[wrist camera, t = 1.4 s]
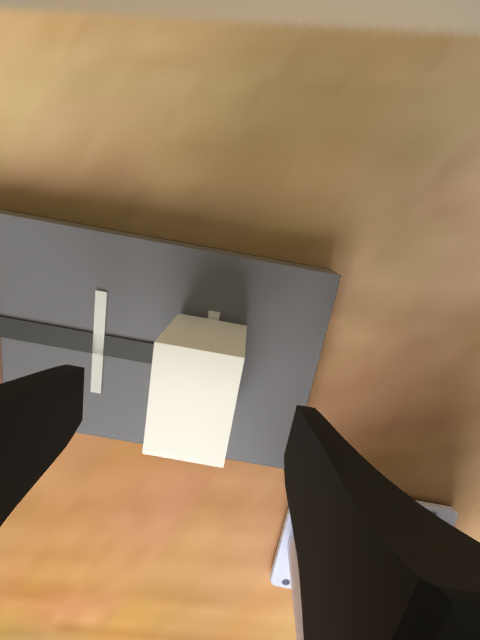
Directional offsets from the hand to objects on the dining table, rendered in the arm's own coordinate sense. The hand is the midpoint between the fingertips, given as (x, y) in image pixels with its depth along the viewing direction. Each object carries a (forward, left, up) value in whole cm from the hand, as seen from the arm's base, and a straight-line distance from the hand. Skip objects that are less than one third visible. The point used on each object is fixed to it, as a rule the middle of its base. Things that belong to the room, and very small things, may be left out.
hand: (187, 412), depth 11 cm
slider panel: (+5, 0, -6) cm, 8 cm away
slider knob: (0, 0, -4) cm, 4 cm away
